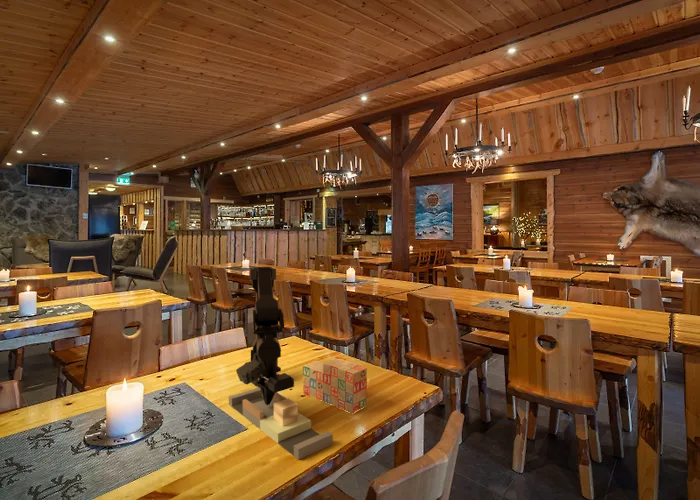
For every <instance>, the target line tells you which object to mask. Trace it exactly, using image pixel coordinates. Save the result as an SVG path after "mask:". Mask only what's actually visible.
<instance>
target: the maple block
mask: <svg viewBox="0 0 700 500" xmlns="http://www.w3.org/2000/svg"><path fill="white" fill-rule="evenodd" d="M298 409H299V407H298V403H296V402H295V401H293V400H292V399H290V398H287V399H285V400H282V401H279V402H276V403H274V421H276V422H277V423H279V424H280V425H281V426H286V425H288V424H291V423H293V422H296V421H298V413H299V411H298Z"/></svg>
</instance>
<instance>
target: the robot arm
mask: <svg viewBox="0 0 700 500" xmlns="http://www.w3.org/2000/svg"><path fill="white" fill-rule="evenodd" d="M276 280H277V269H276V268H274V267H272V266H254V267H253V268H250V269H249V282H251V286H252V289H253V291H255V293H256V301H255V302H254V303H255V304H254V305H255V306H254V307H255V309H253V310H252V326H253V327H252V329H253V330H252V331H253V335H256V338H255V339H254V340H253V342H252V349H250V361H247V362H245V363H244V364H242V365H241V366H240V367H238V368H237V369H235V372H236V374H237V376H238V379H239V381H240V382H242V383H244V385H249V384H253V385H254V386H256V387H257V388H260V389H261V392H262V396H263V398H264V402H265V404H266V405H269V404H270V403H271V401H272V399H273V397H274V395H275V393H276V392H277V393H279V392H282V391H285V390H288V389H291V388H294V387H295V378H293V377H292V376H291V375H289V374H287V373H286V372H283V373H281V374H280V373H279V372H281V371H282V367H280V366H279V364H278V362H279V361H278V360H279V358H281V357H282V354H281V352H282V348H281V345H280V342H279V341H280V340H279V338H278V335H279V334H278V333H283V329H285V318H284V312H283V311H282V309H281V308H279V301H278V300H277V299H275V298H274V295H273V293H274V292H273V288H274V285H275V284H274V283H275V282H274V281H276Z"/></svg>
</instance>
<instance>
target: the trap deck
mask: <svg viewBox="0 0 700 500" xmlns="http://www.w3.org/2000/svg"><path fill="white" fill-rule="evenodd" d="M285 399H288V398H287V397H285V396H283V395H282V394H280V393H279V392H276V393H275V395H274V397H273V399H272V401H271V403H270V404H269V405H266V404H265V402H264V398H263V395H262V392H261V389H260V387H257V388H254V389H250V390H246V391H243V392H238V393H236V394H232V395H230V396H228V406H230V407H231V408H233V409H234V410H235V411H236V412H238V413H239V414H240V415H242V417H244V418H245V419H246V420H248V421H249V422H250V423H252V424H253V425H254V426H255V427H256V428H258V429H259V430H260V431H261V432H263V434H266V435H267V436H268V437H269V438H270V439H272V440H273V441H274V442H275V443H277V444H278V445H279V446H281V448H283V449H284V450H286V451H287V452H288V453H289V454H291V455H292V456H293V457H294V458H296V459H297V460H301V459H303V458H306V457H307V456H310V455H312V454H314V453H316V452H318V451H320V450H323V449H325V448H327V447H329V446H331V445H333V444H334V442H333V441H334V440H333V438H334V437H333V436H334V435H333V433H331V432H330V431H328V430H326V431H324V432H322V433H318V431H316V430H314V429H313V428H312V420H311V419H309V418H307V417H306V416H305V415H303V414H301V413H300V412H298V421H296V422H293V423H291V424H288V425H286V426H281V425H280V424H279V423H277V422H276V421H274V403H276V402H279V401H282V400H285Z"/></svg>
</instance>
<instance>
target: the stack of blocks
mask: <svg viewBox="0 0 700 500" xmlns="http://www.w3.org/2000/svg"><path fill="white" fill-rule="evenodd" d="M367 370H368V367H365V366H361V365H359V363H358V364H357V363H354V362H350V361H346V360H343V359H340V358H338V357H337V358H333V359H331V360H329V361H326V362H321V361H318V360H315V361H312V362H310V363H308V364H305V365H303V366H302V377H303V379H302V384H303V391H302V392H303V394H304V395H306V394H307V396H309V397H311V398H313V397H314V398H313V399H315V398H316V400H318V399H319V400H318V401H320V400H322V401H324V402H323V403H325V402H327V403H329V404H332V405H334V406H336V407H335V408H337V407H338V408H337V409H339V408H341V409H344V410H346V411H348V412H350V413H354V412H355V411H357V410H359V409H361V408H363V407H365V406H366V407H367V387H368V386H367V385H368V382H367V381H368V380H367V379H368V378H367V377H368V376H367V373H368V372H367ZM322 401H321V402H322ZM327 403H326V404H327ZM329 404H328V405H329ZM332 405H331V406H332ZM334 406H333V407H334ZM341 409H340V410H341ZM348 412H347V413H348ZM350 413H349V414H350Z"/></svg>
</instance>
